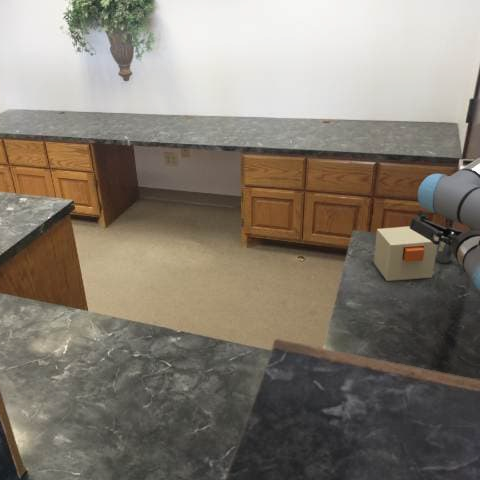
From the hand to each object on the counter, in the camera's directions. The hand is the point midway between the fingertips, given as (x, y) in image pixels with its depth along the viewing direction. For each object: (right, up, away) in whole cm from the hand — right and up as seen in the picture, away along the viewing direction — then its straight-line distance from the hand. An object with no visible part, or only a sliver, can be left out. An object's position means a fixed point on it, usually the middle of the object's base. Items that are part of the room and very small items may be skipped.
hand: (450, 220), depth 120 cm
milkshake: (+12, -11, +24) cm, 29 cm away
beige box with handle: (-1, -13, +22) cm, 26 cm away
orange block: (-2, -10, +14) cm, 17 cm away
